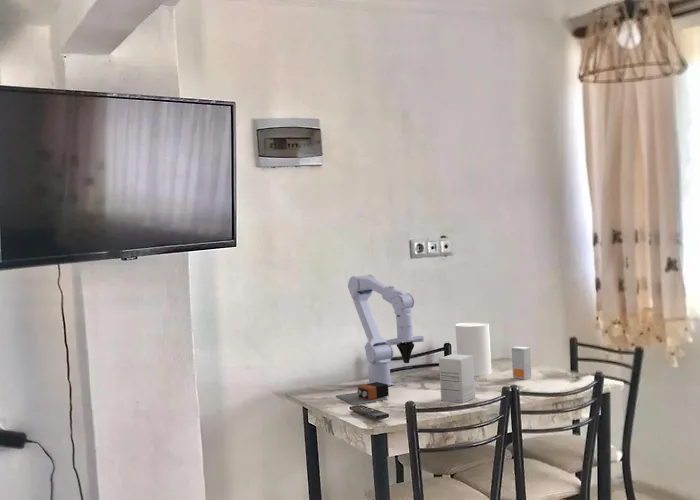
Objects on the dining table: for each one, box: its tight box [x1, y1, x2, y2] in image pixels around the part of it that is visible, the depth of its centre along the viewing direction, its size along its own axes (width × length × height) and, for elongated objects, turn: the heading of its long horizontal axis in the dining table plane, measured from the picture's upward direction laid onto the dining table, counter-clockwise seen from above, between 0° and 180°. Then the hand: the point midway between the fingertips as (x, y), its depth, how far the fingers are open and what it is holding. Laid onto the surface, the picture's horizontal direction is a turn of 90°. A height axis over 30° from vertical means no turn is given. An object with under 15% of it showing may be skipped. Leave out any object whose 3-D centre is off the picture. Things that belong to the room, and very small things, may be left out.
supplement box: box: [438, 353, 476, 404], centre depth 251 cm, size 9×9×15 cm
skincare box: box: [511, 345, 532, 381], centre depth 281 cm, size 6×4×12 cm
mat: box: [335, 392, 388, 406], centre depth 261 cm, size 17×13×1 cm
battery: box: [356, 382, 389, 400], centre depth 261 cm, size 4×7×10 cm
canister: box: [455, 321, 492, 377], centre depth 296 cm, size 14×14×20 cm
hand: (406, 362), depth 270 cm, fingers closed
